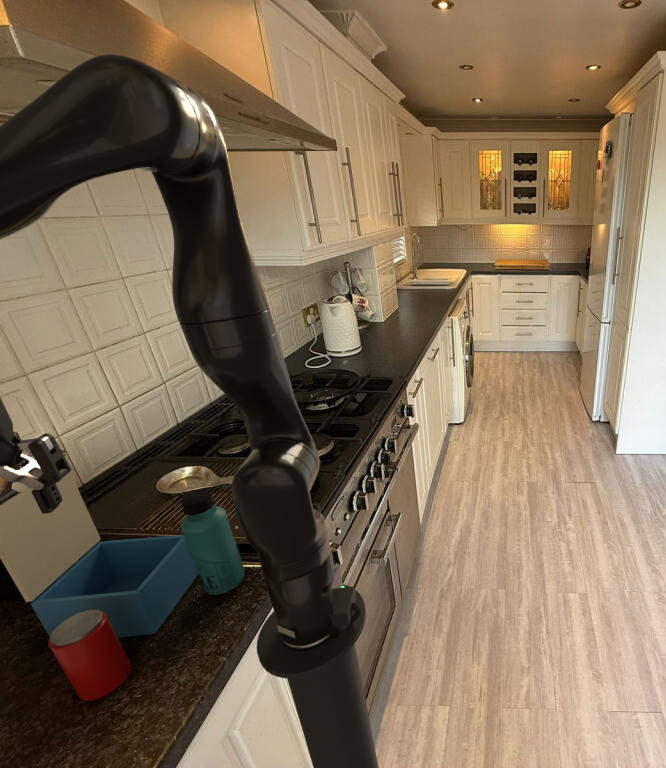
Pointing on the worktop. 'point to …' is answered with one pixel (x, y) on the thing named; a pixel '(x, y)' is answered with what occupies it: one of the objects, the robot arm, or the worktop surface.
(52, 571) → the lid
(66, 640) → the can
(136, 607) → the cool box
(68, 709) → the worktop surface
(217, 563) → the beverage bottle
